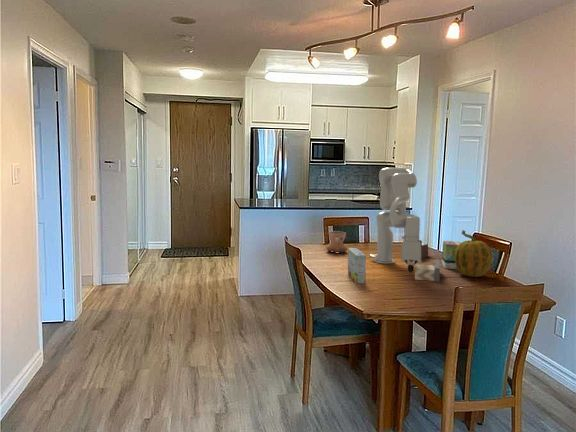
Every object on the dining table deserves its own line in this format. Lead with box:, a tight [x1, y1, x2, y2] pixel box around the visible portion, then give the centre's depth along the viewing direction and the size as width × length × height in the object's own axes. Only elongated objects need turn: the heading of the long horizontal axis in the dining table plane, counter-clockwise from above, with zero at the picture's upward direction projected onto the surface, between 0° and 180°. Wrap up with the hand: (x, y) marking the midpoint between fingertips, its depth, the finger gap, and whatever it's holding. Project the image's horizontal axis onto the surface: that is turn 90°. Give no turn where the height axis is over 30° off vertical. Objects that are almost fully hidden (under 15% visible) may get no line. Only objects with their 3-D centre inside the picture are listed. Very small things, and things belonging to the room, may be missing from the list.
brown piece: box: [326, 230, 348, 253], centre depth 329 cm, size 18×14×14 cm
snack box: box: [347, 247, 367, 285], centre depth 253 cm, size 21×6×15 cm, turn 5°
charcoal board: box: [433, 259, 441, 283], centre depth 259 cm, size 2×22×7 cm, turn 163°
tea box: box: [441, 240, 461, 270], centre depth 286 cm, size 15×10×15 cm, turn 168°
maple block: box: [414, 263, 435, 282], centre depth 258 cm, size 10×12×6 cm
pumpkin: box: [455, 229, 493, 278], centre depth 261 cm, size 19×19×25 cm
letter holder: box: [419, 239, 429, 260], centre depth 313 cm, size 10×20×14 cm, turn 147°
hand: (410, 272), depth 258 cm, fingers closed
